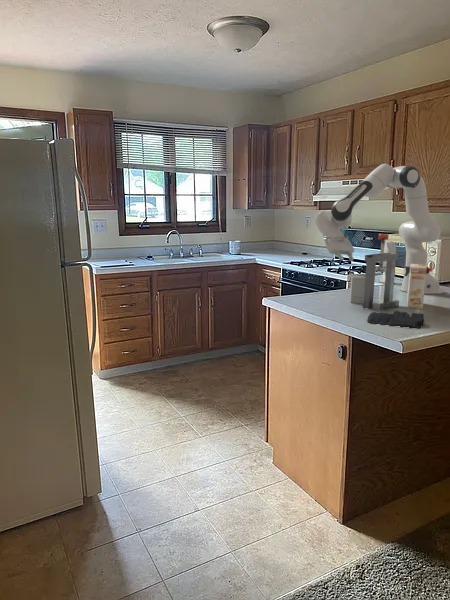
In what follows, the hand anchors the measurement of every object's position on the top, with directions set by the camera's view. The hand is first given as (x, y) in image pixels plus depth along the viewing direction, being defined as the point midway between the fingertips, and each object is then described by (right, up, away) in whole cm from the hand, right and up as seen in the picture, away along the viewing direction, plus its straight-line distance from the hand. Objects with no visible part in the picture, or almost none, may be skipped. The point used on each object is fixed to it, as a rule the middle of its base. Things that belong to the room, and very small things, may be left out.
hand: (347, 260), depth 233 cm
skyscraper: (+40, -10, +56) cm, 69 cm away
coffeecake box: (+31, -23, -8) cm, 39 cm away
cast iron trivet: (+9, -30, -41) cm, 52 cm away
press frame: (+13, -24, -13) cm, 30 cm away
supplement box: (+5, -21, -2) cm, 22 cm away
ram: (+12, -7, -14) cm, 20 cm away
